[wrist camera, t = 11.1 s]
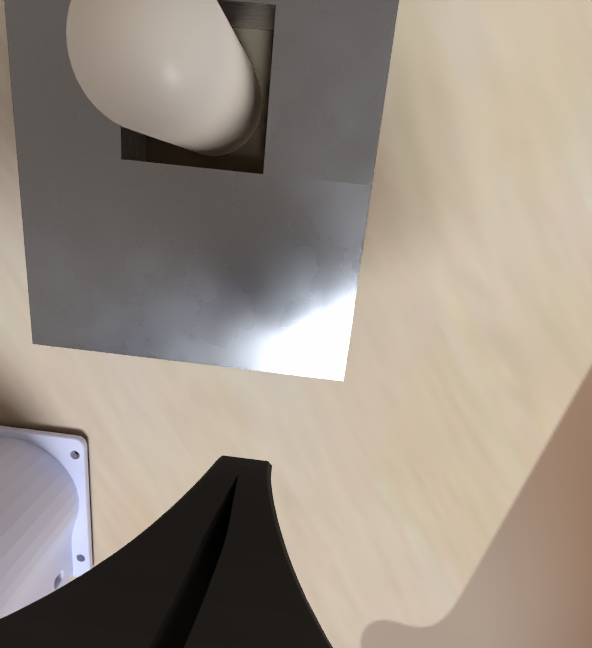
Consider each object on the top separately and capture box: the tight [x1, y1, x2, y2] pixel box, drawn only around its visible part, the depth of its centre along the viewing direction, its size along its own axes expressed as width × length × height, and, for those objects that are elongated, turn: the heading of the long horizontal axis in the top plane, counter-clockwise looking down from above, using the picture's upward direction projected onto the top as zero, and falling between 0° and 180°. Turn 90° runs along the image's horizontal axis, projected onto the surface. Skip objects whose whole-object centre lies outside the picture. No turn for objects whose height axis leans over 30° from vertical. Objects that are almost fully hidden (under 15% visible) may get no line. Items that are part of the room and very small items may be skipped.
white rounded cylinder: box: [66, 0, 263, 156], centre depth 15 cm, size 4×4×7 cm
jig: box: [4, 0, 399, 381], centre depth 18 cm, size 18×14×2 cm
